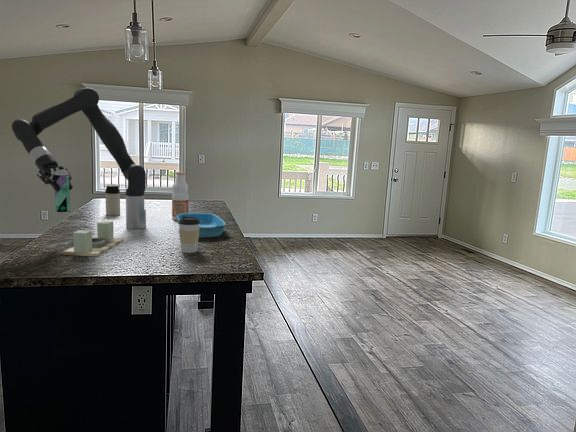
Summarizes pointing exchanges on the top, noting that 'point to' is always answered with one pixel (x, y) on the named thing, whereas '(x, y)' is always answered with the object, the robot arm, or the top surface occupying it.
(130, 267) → the top surface
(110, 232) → the sage pillars
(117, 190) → the travel mug
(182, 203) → the fruit juice
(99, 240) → the metal collar
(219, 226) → the casserole dish
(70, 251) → the wooden board
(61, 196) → the spray can
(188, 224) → the coffee cup
